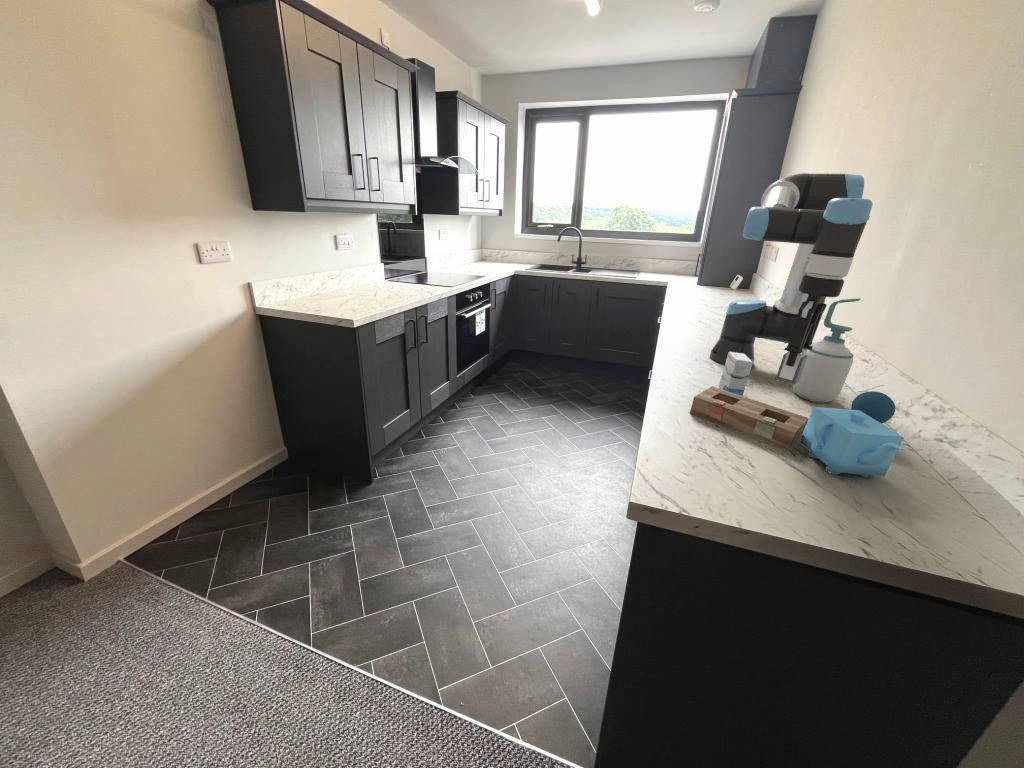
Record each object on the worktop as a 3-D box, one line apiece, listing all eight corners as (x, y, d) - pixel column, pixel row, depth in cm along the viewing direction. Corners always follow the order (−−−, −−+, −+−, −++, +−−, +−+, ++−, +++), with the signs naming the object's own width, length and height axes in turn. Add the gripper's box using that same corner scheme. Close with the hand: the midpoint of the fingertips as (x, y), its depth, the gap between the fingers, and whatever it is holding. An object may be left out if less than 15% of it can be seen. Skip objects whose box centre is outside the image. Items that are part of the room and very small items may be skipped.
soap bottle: (830, 409, 121) (873, 304, 109) (783, 394, 129) (819, 295, 117) (840, 399, 129) (882, 299, 117) (796, 385, 137) (830, 291, 125)
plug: (780, 376, 101) (791, 345, 98) (798, 381, 99) (810, 349, 96) (775, 379, 99) (786, 347, 96) (794, 384, 96) (805, 352, 93)
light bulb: (843, 423, 112) (861, 383, 108) (882, 436, 107) (902, 394, 102) (838, 433, 107) (856, 391, 102) (878, 446, 102) (900, 403, 97)
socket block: (708, 401, 120) (712, 385, 118) (802, 435, 104) (809, 417, 102) (689, 413, 112) (693, 395, 110) (787, 451, 96) (795, 432, 94)
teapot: (786, 447, 98) (805, 398, 93) (851, 451, 98) (873, 403, 93) (839, 495, 82) (865, 439, 77) (917, 500, 82) (948, 445, 77)
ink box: (742, 398, 124) (754, 361, 120) (725, 396, 125) (736, 359, 120) (734, 387, 132) (744, 353, 127) (718, 385, 133) (728, 351, 128)
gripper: (813, 272, 97) (782, 364, 106) (793, 275, 86) (759, 378, 95) (852, 276, 92) (815, 373, 101) (836, 281, 81) (796, 389, 90)
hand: (788, 375), depth 98 cm, fingers closed on plug, 4 cm apart
